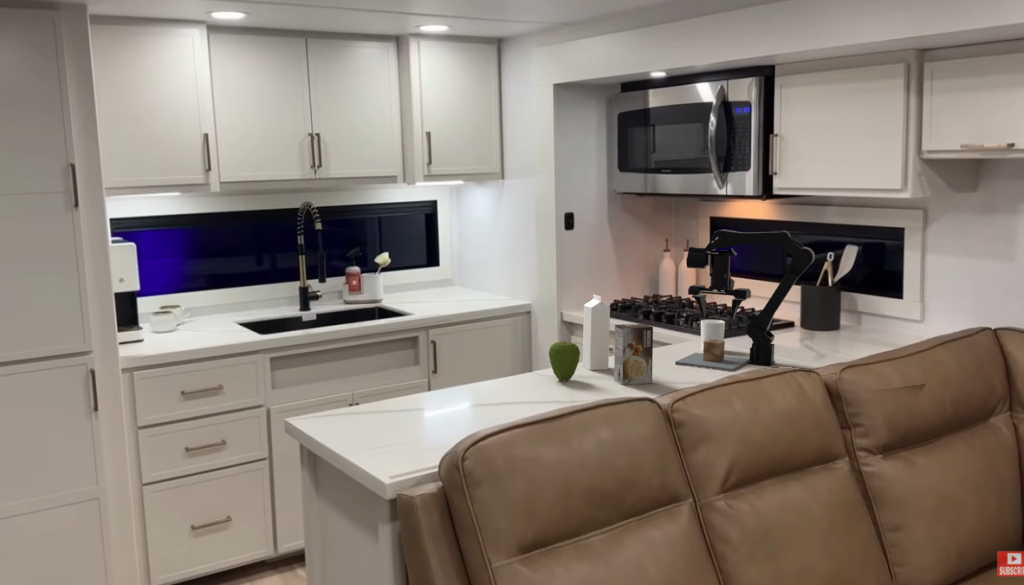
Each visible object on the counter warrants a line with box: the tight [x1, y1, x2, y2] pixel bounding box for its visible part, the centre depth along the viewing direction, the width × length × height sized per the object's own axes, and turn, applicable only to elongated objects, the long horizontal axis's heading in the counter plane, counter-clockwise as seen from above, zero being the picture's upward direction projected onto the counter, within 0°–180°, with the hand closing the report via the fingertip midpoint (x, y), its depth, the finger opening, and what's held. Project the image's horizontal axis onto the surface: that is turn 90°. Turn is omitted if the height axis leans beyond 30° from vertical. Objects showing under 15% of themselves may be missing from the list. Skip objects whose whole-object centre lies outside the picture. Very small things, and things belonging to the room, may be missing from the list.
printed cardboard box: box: [613, 323, 654, 386], centre depth 244 cm, size 9×6×16 cm
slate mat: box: [675, 352, 750, 372], centre depth 272 cm, size 18×18×1 cm
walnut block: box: [702, 339, 726, 363], centre depth 272 cm, size 5×5×6 cm
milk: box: [582, 294, 611, 371], centre depth 261 cm, size 6×6×22 cm
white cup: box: [700, 319, 726, 352], centre depth 291 cm, size 8×8×10 cm
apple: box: [548, 339, 581, 382], centre depth 245 cm, size 9×8×12 cm
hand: (718, 318), depth 276 cm, fingers open, 9 cm apart
